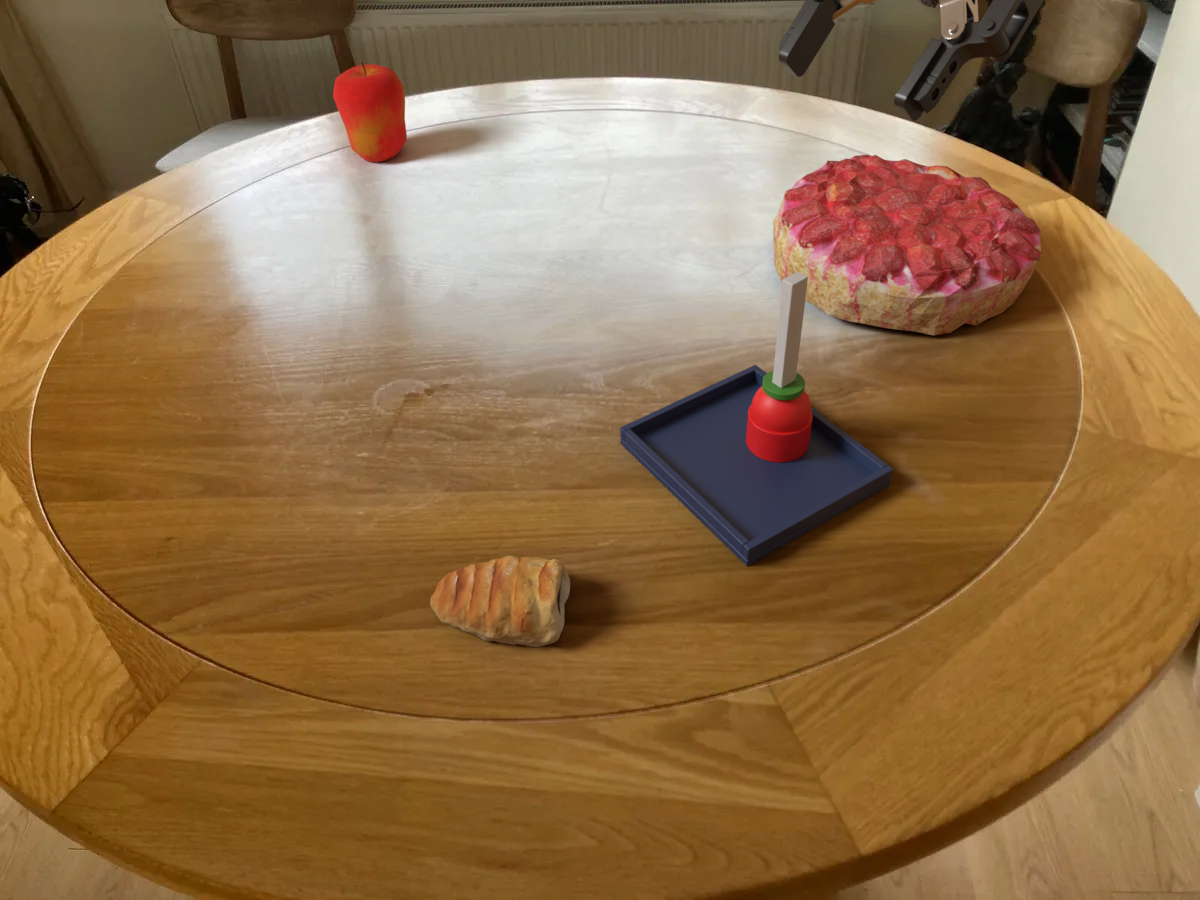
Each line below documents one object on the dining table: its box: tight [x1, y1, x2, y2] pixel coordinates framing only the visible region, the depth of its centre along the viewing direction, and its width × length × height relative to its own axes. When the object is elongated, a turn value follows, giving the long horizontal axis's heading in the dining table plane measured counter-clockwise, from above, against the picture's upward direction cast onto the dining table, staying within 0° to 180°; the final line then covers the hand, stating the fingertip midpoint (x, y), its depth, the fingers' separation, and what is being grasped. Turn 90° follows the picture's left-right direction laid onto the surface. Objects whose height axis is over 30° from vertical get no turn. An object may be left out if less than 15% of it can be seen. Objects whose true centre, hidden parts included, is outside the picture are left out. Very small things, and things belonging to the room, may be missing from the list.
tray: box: [619, 364, 894, 567], centre depth 76 cm, size 16×14×2 cm
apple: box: [332, 59, 408, 163], centre depth 117 cm, size 9×8×12 cm
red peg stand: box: [746, 272, 813, 463], centre depth 72 cm, size 5×5×15 cm
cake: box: [772, 154, 1042, 336], centre depth 94 cm, size 25×25×8 cm
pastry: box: [429, 555, 571, 648], centre depth 65 cm, size 9×7×4 cm
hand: (843, 89), depth 54 cm, fingers open, 8 cm apart
